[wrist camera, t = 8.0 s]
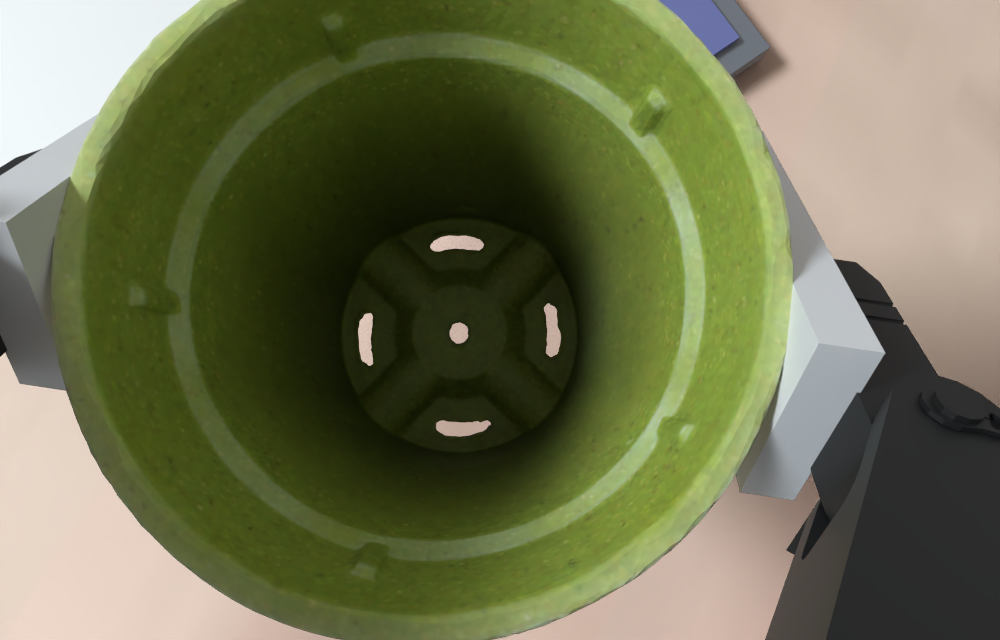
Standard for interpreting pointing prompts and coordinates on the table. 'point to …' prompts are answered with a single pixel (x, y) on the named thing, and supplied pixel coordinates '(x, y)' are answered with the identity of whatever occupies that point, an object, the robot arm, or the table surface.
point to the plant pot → (421, 303)
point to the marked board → (68, 62)
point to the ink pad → (722, 31)
